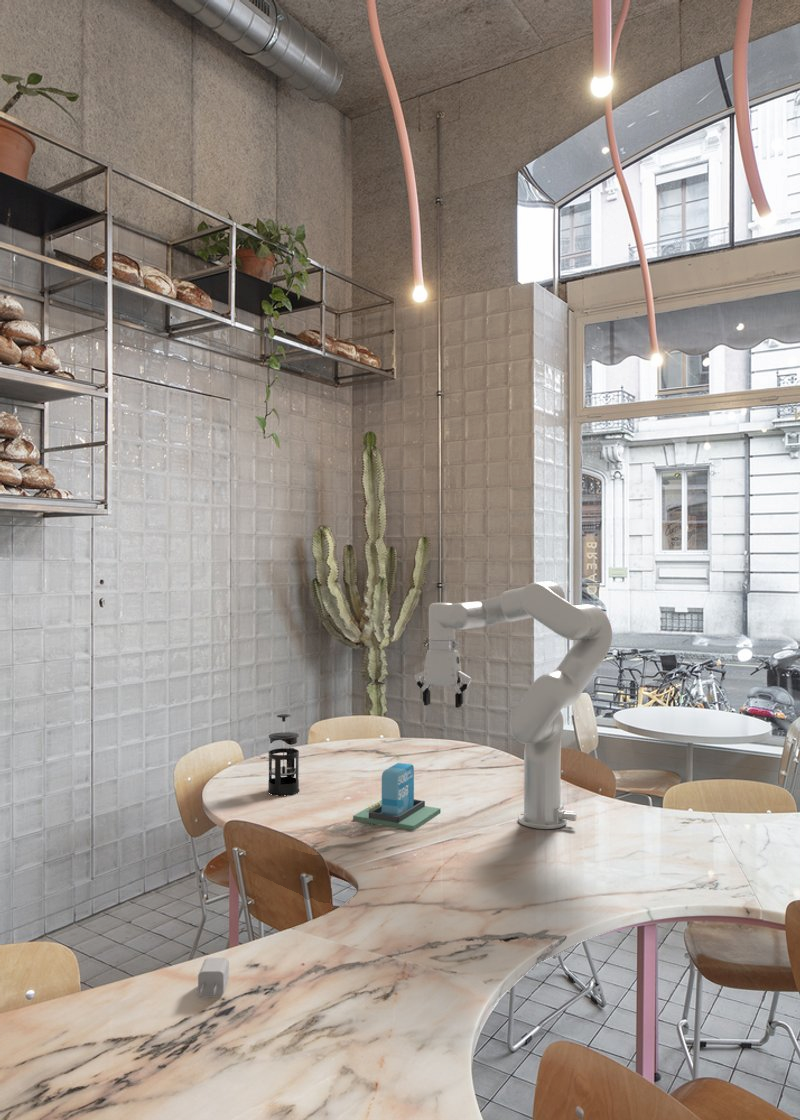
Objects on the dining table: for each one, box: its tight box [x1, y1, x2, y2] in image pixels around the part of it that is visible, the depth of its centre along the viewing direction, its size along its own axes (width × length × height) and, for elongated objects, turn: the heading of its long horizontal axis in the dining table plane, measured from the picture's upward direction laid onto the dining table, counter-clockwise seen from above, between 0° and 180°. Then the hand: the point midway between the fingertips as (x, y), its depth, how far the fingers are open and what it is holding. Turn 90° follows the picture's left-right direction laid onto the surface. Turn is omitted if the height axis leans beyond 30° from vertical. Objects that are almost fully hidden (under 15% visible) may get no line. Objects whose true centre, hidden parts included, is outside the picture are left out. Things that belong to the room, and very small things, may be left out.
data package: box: [381, 762, 415, 816], centre depth 214 cm, size 12×4×12 cm, turn 157°
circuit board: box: [352, 798, 441, 832], centre depth 214 cm, size 18×16×3 cm
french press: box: [267, 713, 300, 797], centre depth 238 cm, size 12×9×23 cm
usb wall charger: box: [197, 957, 230, 998], centre depth 126 cm, size 4×7×4 cm, turn 2°
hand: (442, 705), depth 227 cm, fingers open, 9 cm apart
